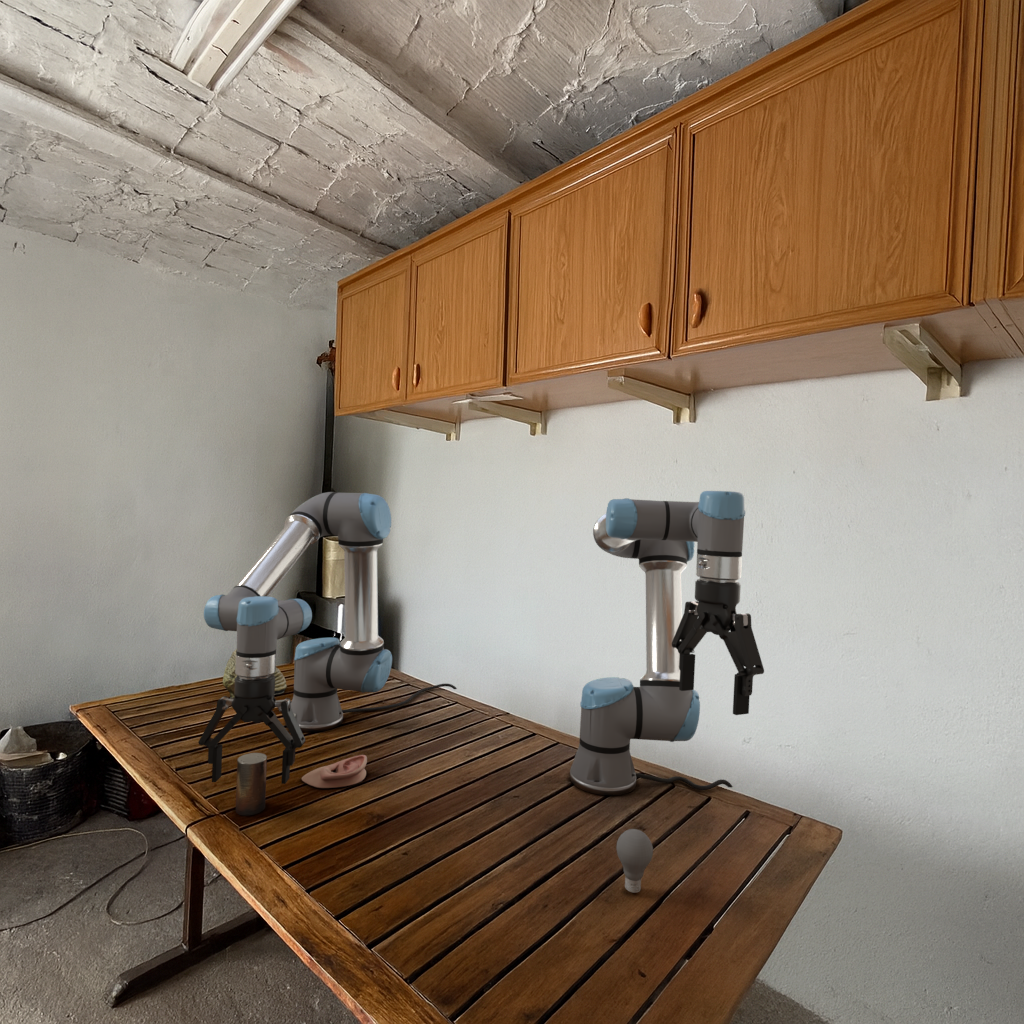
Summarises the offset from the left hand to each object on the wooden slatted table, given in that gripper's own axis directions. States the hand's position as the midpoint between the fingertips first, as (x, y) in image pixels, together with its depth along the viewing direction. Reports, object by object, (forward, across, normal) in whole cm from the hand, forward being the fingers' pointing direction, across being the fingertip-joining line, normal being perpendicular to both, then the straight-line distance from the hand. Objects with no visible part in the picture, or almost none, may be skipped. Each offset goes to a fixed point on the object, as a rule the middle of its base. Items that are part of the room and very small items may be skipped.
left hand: (251, 780), depth 127 cm
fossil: (+5, -24, +72) cm, 76 cm away
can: (+6, 0, 0) cm, 6 cm away
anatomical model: (+6, +14, +15) cm, 21 cm away
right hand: (-25, +85, -21) cm, 91 cm away
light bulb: (+6, +72, -25) cm, 76 cm away
